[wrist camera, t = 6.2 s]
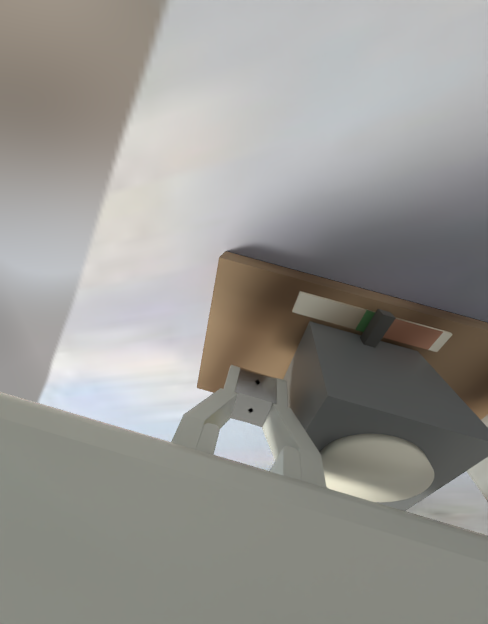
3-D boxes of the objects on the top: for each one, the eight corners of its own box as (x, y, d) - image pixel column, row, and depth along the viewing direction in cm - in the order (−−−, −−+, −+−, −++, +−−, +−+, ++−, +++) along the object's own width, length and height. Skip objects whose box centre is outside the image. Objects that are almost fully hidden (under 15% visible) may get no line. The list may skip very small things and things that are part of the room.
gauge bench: (588, 350, 12) (1124, 609, 4) (459, 446, 17) (605, 646, 9) (225, 251, 12) (141, 330, 5) (203, 373, 17) (143, 506, 10)
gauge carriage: (494, 338, 10) (672, 453, 6) (401, 429, 14) (462, 543, 9) (322, 291, 11) (357, 364, 6) (276, 393, 14) (274, 488, 10)
